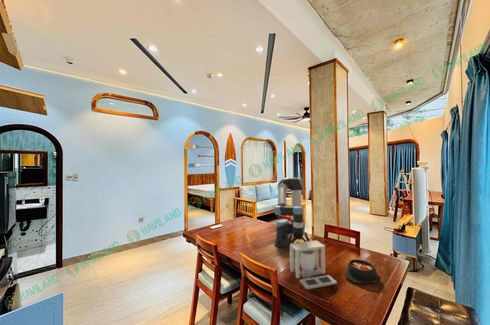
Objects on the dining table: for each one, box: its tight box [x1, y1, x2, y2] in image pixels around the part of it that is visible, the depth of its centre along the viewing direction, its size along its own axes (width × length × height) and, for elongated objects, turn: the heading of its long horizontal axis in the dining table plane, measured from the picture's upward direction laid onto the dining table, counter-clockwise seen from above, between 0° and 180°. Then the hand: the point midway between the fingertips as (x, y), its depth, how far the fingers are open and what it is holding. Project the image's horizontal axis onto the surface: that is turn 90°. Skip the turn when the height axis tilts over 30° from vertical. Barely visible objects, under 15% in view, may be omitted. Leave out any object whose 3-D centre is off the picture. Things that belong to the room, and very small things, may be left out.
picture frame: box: [288, 241, 324, 279], centre depth 143 cm, size 21×16×15 cm
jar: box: [299, 250, 315, 272], centre depth 140 cm, size 11×10×15 cm
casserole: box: [344, 259, 379, 285], centre depth 133 cm, size 25×19×8 cm
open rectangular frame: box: [289, 240, 338, 290], centre depth 134 cm, size 22×22×20 cm
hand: (298, 254), depth 152 cm, fingers open, 13 cm apart
